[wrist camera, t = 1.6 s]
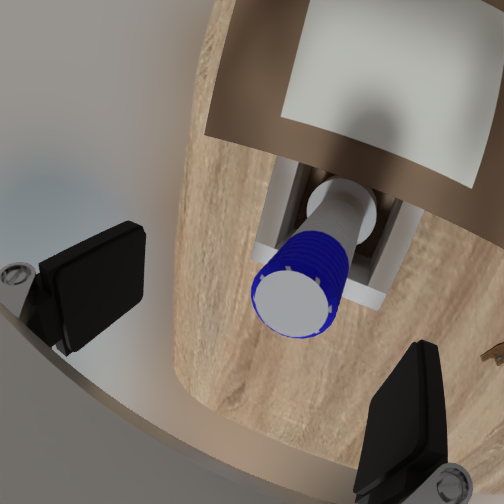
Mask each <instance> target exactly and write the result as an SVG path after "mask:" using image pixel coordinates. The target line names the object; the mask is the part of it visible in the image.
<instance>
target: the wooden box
mask: <svg viewBox="0 0 504 504" xmlns="http://www.w3.org/2000/svg"><path fill="white" fill-rule="evenodd" d="M481 1H483V2H485V3H487V4H489V5H491V6H493V7H495V8H497V9H499V10H501V11H502V12H504V0H481ZM309 3H310V0H236V3H235V7H234V10H233V14H232V18H231V21H230V25H229V29H228V33H227V36H226V40H225V44H224V48H223V52H222V56H221V60H220V65H219V69H218V73H217V77H216V82H215V86H214V91H213V95H212V100H211V104H210V109H209V114H208V119H207V124H206V129H205V134H204V135H206V136H210V137H214V138H218V139H222V140H226V141H229V142H233V143H237V144H241V145H244V146H248V147H251V148H255V149H258V150H262V151H265V152H268V153H272V154H275V155H277V157H276V161H275V165H274V169H273V173H272V176H271V180H270V184H269V188H268V192H267V196H266V200H265V204H264V208H263V212H262V216H261V220H260V224H259V227H258V231H257V235H256V239H255V243H254V247H253V251H252V255H251V259H252V260H254V261H257V262H259V263H261V264H264V265H266V264H267V263H268V262H269V260H270V259H271V258H272V257H273V256H274V255H275V254H276V253H277V251H278V250H280V248H281V247H282V246H283V245H284V244H285V243H286V242H287V240H288V239H289V238H290V237H291V236H292V235H293V234H294V233H295V232H296V230H298V229H295V228H294V226H295V223H296V219H297V216H298V213H299V209H300V206H301V202H302V199H303V196H304V192H305V189H306V185H307V182H308V179H309V175H310V172H311V168H312V166H313V167H316V168H319V169H321V170H324V171H327V172H330V173H333V174H336V175H339V176H341V177H344V178H347V179H350V180H352V181H355V182H358V183H360V184H363V185H365V186H368V187H371V188H373V189H376V190H378V191H381V192H383V193H386V194H388V195H391V196H393V197H395V200H394V203H393V206H392V208H391V211H390V213H389V216H388V219H387V221H386V224H385V226H384V229H383V231H382V234H381V236H380V239H379V241H378V244H377V246H376V248H375V251H374V253H373V256H372V258H368V257H366V256H363V255H361V254H358V253H356V252H354V255H353V259H352V262H351V266H350V269H349V273H348V277H347V280H346V283H345V287H344V290H343V293H342V297H344V298H346V299H349V300H351V301H354V302H356V303H358V304H361V305H363V306H366V307H368V308H371V309H373V310H376V311H378V310H379V308H380V306H381V304H382V302H383V300H384V298H385V297H386V295H387V293H388V291H389V289H390V287H391V285H392V283H393V281H394V279H395V276H396V274H397V272H398V270H399V268H400V266H401V264H402V262H403V260H404V257H405V255H406V253H407V251H408V248H409V246H410V244H411V242H412V239H413V237H414V235H415V232H416V230H417V228H418V225H419V223H420V220H421V218H422V215H423V213H424V210H426V211H428V212H430V213H432V214H435V215H437V216H439V217H441V218H443V219H445V220H448V221H450V222H452V223H454V224H456V225H458V226H460V227H462V228H464V229H466V230H468V231H470V232H472V233H474V234H476V235H478V236H480V237H482V238H484V239H486V240H488V241H490V242H492V243H493V244H495V245H497V246H499V247H501V248H503V249H504V66H503V72H502V78H501V84H500V89H499V94H498V99H497V104H496V109H495V113H494V117H493V121H492V125H491V129H490V133H489V136H488V140H487V144H486V147H485V150H484V154H483V157H482V160H481V163H480V166H479V169H478V172H477V175H476V178H475V181H474V184H473V187H472V189H471V188H469V187H467V186H465V185H463V184H461V183H459V182H457V181H455V180H453V179H451V178H449V177H447V176H444V175H442V174H440V173H438V172H436V171H434V170H431V169H429V168H427V167H425V166H422V165H420V164H418V163H415V162H413V161H411V160H408V159H406V158H403V157H401V156H398V155H396V154H393V153H391V152H388V151H386V150H383V149H381V148H378V147H375V146H372V145H370V144H367V143H364V142H361V141H359V140H356V139H353V138H350V137H347V136H344V135H341V134H338V133H335V132H332V131H328V130H325V129H322V128H319V127H315V126H312V125H309V124H305V123H302V122H298V121H294V120H291V119H287V118H283V117H281V113H282V109H283V105H284V101H285V97H286V93H287V89H288V85H289V81H290V77H291V73H292V69H293V65H294V62H295V58H296V54H297V50H298V46H299V42H300V38H301V34H302V30H303V26H304V22H305V18H306V15H307V11H308V7H309Z"/></svg>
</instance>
